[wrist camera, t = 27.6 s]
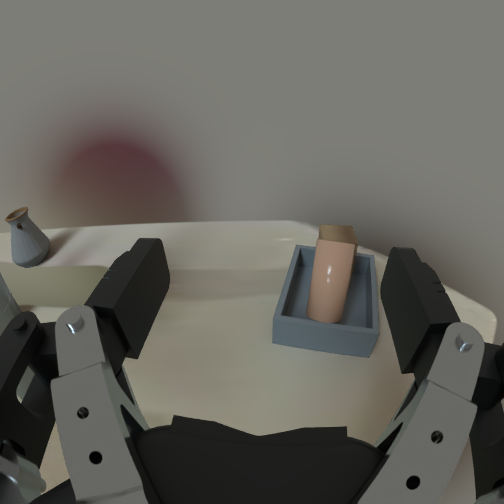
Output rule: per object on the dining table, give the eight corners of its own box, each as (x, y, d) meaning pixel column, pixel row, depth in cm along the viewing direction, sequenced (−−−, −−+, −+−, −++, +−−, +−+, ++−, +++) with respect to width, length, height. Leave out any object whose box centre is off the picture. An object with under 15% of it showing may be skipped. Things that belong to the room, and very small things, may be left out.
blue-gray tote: (272, 342, 39) (273, 318, 37) (294, 268, 53) (296, 244, 51) (368, 357, 36) (378, 334, 33) (368, 278, 50) (373, 255, 47)
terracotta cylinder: (302, 318, 37) (314, 239, 35) (309, 308, 41) (319, 238, 40) (340, 325, 35) (354, 245, 34) (343, 314, 39) (355, 243, 38)
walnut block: (315, 297, 45) (322, 242, 39) (314, 277, 49) (319, 224, 44) (346, 297, 44) (358, 243, 39) (342, 277, 49) (351, 226, 43)
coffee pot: (15, 259, 58) (-6, 209, 50) (48, 241, 65) (31, 190, 57) (24, 300, 46) (-7, 237, 38) (66, 275, 53) (42, 212, 44)
